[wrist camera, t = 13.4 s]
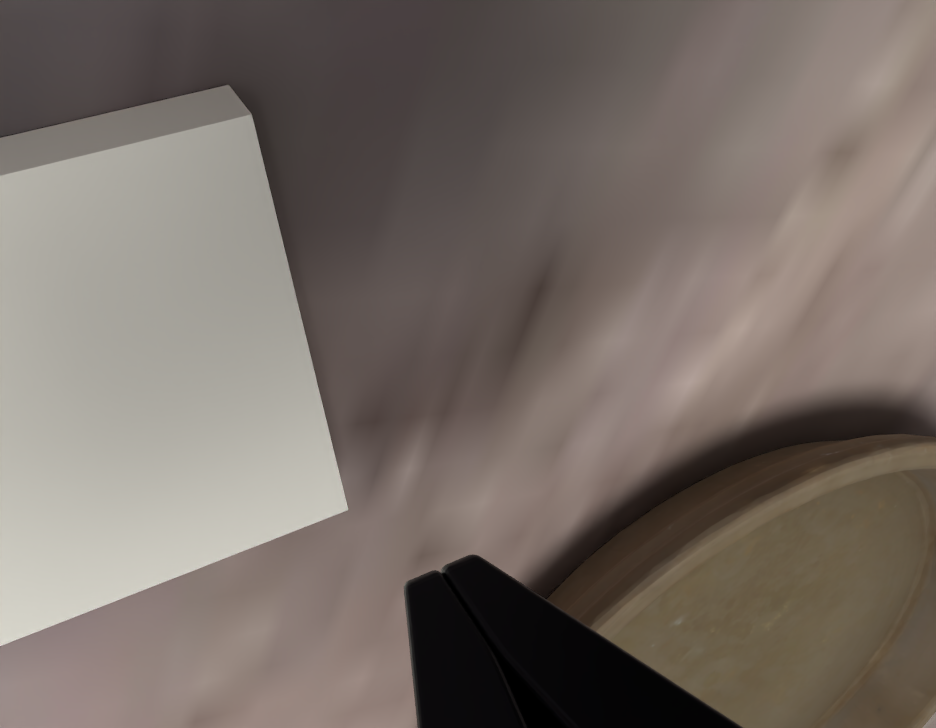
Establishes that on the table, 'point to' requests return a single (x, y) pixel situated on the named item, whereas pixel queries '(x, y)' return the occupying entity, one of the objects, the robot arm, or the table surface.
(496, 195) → the table surface
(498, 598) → the robot arm
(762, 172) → the table surface
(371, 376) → the table surface
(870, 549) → the plant saucer
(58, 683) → the table surface
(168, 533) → the bench slab
